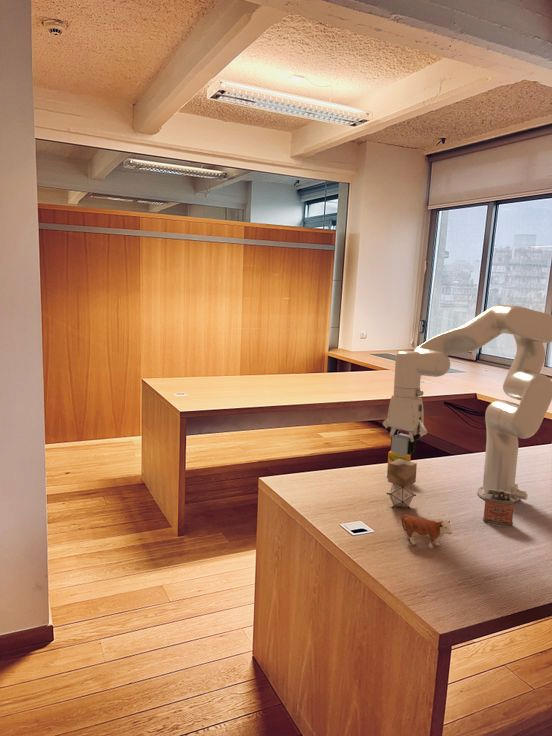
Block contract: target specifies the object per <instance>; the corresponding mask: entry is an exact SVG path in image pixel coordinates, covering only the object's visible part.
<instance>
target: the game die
mask: <svg viewBox="0 0 552 736" xmlns="http://www.w3.org/2000/svg"><path fill="white" fill-rule="evenodd" d="M386 495H389V498H390V501H391V503H392V509H394V508H395V507H406V508H408V509H409V510H410V509H411V507H410V505H411V503H412V501H413V498H414V497H416V496H417V494H414V492H413V490H412V487H411V485H409V486H407V487H403V486H400V485H397V484H393V483H392V486H391V487H390V490H389V492H386Z"/></svg>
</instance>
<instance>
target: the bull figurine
mask: <svg viewBox="0 0 552 736" xmlns="http://www.w3.org/2000/svg"><path fill="white" fill-rule="evenodd" d="M450 522H451V521H450V520H442V519H440V518H436V519H435V518H425V517H424V518H422V517H418V516H413V515H408V514H405V515H403V516H402V517H401V525H402V528H403V534H404V537H405V538H406V539H408V540H410V544H412V545H413V546H415V545H417V542H416V541H415V540H414V538H413V533H414V532H416V534H417V535H418V536H419V537H422V536H429V544H428V545H427V546H428V547H429V549H431V550H432V549H434V546H433V543H434V544H435V545H436V547H440V546H441V544H440V542H439V539H440V538H441V537H443V536H444V535H452V534H453V533H454V532H453V530H452V525H451V523H450ZM434 541H435V542H434Z"/></svg>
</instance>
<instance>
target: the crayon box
mask: <svg viewBox="0 0 552 736" xmlns="http://www.w3.org/2000/svg"><path fill="white" fill-rule="evenodd" d="M411 455H412V454H410V455H407V456H403V455H399V454H396V453H392V452H391V450H390V451H388V456H387V469H386V470H387V472H386V473H387V474H386V478H387V479H388V471H389V463H390V462H393V461H395V460H398V459H403V460H406V461H410V462H411Z"/></svg>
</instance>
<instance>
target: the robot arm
mask: <svg viewBox="0 0 552 736" xmlns="http://www.w3.org/2000/svg"><path fill="white" fill-rule="evenodd" d="M503 334H506V335H507V334H508V335H512V336H513V338H514V340H515V344H516V353H515V356H514V359H513V361H512V363H511V365H510V368H509V370H508V372H507V374H506V377H505V379H504V382H503V384H502V390H503V393H505V395H506V396H508V397H509V398H512V399H515V400H518V401H520V402H519V403H516V402H513V401H509V400H505V399H497V400H495V401H493V402H491V403H490V404H488V406H487V407H486V410H485V416H484V417H485V419H484V420H485V427H486V444H485V455H484V456H485V457H484V468H483V481H482V482H483V483H482V486H481V487H479V488H477V492H476V493H477V495H478V496H479V497H480V498H481V499H484V500H485V496H487V495H489V496H492V494H488V489H494V490H498V491H499V490H500V489H502V490H504V491H505V492H511V497H510V498H511V499H514V500H515V503H517V502H519V500H521V499H522V500H525V501H527V500H528V496H529V495H528V493H527V491H526V490H525V491H524V490H520V489H519V485H518V484H516V478H517V477H516V476H517V475H516V474H517V467H518V466H517V465H518V455H519V454H518V453H519V439H523V440H524V439H529V438H531V437H533V436H534V435H535V434H536V433H537V432H538V430H539V429H540V427H541V425H542V423H543V420H544V418H545V416H546V414H547V412H548V409H549V407H550V405H551V402H552V380H551V378H550V377H548V376H547V375H544V374H542V373H541V371H542V368H543V366H544V364H545V359H546V350H545V346H544V344H549V343H552V314H550V313H546V312H542V311H539V310H534V309H531V308H528V307H527V308H526V307H523V306H519V305H509V304H496V305H493V306H490V308H487V309H486V310H485V311H483V312H481V313H479V314H478V315H477V316H476V317H474V318H473V319H470V320H469V321H467V322H466V323H464V324H462V325H461V326H459V327H457V328H453V329H451V330H449V331H446V332H443V333H441V334H438V335H436V336H433V337H431V338H429V339H428V340H426V341H425V342H423V343H421V344H420V345H419V346H417V347H416V348H415V349H413V350H400V351H398V352H397V353H396V354H395V360H394V361H395V365H394V366H395V367H394V380H393V381H394V383H393V394H392V395H391V397H390V401H389V405H388V412H387V417H386V418H385V419H384V420H383V421H382V426H383V427H385V429H386V431H387V432H388V434H389V437H390V438H391V439H390V446H391V445H392V436H394V435H397V434H399V431H405V432H408V435H409V437H410V441H409V442H408V454H409V455H410V454H411V455H412V454H415V452H416V450H417V441H418V440H419V439H420V438H422V437H423V436H425V435H427V434H428V430H427V428H426V426H425V425H424V421H425V420H424V419H425V417H424V415H425V414H424V412H425V411H424V402H423V398H422V396H423V395H424V391H422V390H421V378H422V376H425V377H426V376H427V377H433V378H436V377H442V376H444V375H446V374H447V373H448V372H449V370H450V368H451V360H450V358H449V357H448V356H451V355H455V354H465V353H469V352H471V353H472V352H475V351H478V350H479V349H481V348H483V347H484V346H485V345H487V344H488V343H490V342H491V341H493V340H494V339H496V338H497V337H499V336H500V335H503ZM418 431H419V432H418ZM495 496H497V495H495ZM505 497H506V498H507V496H505Z"/></svg>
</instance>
